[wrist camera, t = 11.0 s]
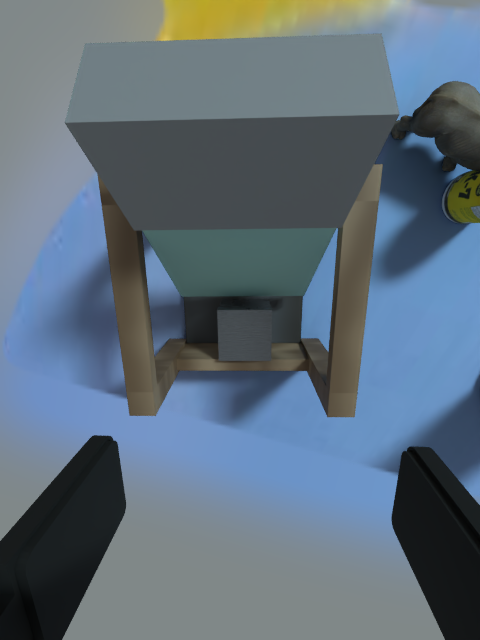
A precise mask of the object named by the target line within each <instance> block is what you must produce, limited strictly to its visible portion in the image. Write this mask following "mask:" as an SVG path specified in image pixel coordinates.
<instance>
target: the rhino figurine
mask: <svg viewBox="0 0 480 640" xmlns="http://www.w3.org/2000/svg"><path fill="white" fill-rule="evenodd" d="M407 131H411V132H413V133H415V134H416V135H418V136H421V137H429V138H433V137H435V144H436V146H437V148H438V150H439V151H440V152H441V153H442V154H443V155H445V157H444V160H443V166H442V169H443V171H453V170H454V169H455V168H456V164H460V165H461V166H463V167H466V168H467V169H471V170H480V94H479V92H478V91H477V90H476V88H475V87H473V86H471V85H470V84H467V83H464V82H458V81H452V82H447V83H445V84H443V85H441V86H440V87H439V88H437V89H436V90H434V91H433V92H432V94H431V95H430V97H429V98H428V99H427V100H426V101H425V102H424V103H423V104H422V105H421V106H420V107H419V108H418V109H416V110H415V111H414V113H413V117H410V116H403V117H401V119H400V120H398V121H396V122H395V124H394V126H393V128H392V130H391V133H392V136H393V138H394V139H397V138H398V139H403V138H404V137H405V135H406V132H407Z"/></svg>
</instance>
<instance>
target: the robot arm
mask: <svg viewBox="0 0 480 640" xmlns="http://www.w3.org/2000/svg"><path fill="white" fill-rule="evenodd" d="M125 509H126V500H125V493H124V486H123V480H122V472H121V465H120V458H119V451H118V444H117V442H116V441H113V438H112V437H111V436H97V435H94V436H92V437H91V438H90V439H89V440H88V441H87V442H86V443H85V445H84V446H83V447H82V448H81V449H80V451H78V453H77V454H76V455H75V456H74V457H73V458H72V459H71V461H70V462H69V463H68V464H67V466H65V467H64V469H63V470H62V471H61V472H60V473H59V475H58V476H57V477H56V478H55V479H54V480H53V481H52V482H51V484H50V485H49V486H48V487H47V488H46V489H45V490H44V492H43V493H42V494H41V495H40V496H39V497H38V499H37V500H36V501H35V502H34V503H33V504H32V505H31V507H30V508H29V509H28V510H27V511H26V512H25V514H24V515H23V516H22V517H21V518H20V519H19V520H18V521H17V523H16V524H15V525H14V526H13V527H12V528H11V530H10V531H9V532H8V533H7V534H6V535H5V536H4V538H3V539H2V540H1V541H0V640H62V638H63V636H64V635H65V632H66V631H67V629H68V627H69V624H70V622H71V621H72V619H73V617H74V615H75V612H76V611H77V608H78V607H79V605H80V602H81V600H82V598H83V596H84V594H85V592H86V590H87V588H88V586H89V584H90V582H91V580H92V578H93V576H94V574H95V572H96V570H97V568H98V566H99V564H100V562H101V560H102V558H103V556H104V554H105V552H106V550H107V548H108V546H109V544H110V542H111V540H112V538H113V536H114V534H115V532H116V530H117V528H118V526H119V524H120V522H121V520H122V518H123V516H124V513H125ZM392 525H393V529H394V531H395V534H396V536H397V538H398V540H399V542H400V544H401V547H402V549H403V551H404V553H405V555H406V557H407V559H408V561H409V564H410V566H411V568H412V570H413V572H414V574H415V576H416V579H417V581H418V583H419V585H420V587H421V589H422V591H423V593H424V595H425V598H426V600H427V602H428V604H429V606H430V608H431V610H432V613H433V615H434V617H435V619H436V621H437V623H438V625H439V628H440V630H441V632H442V634H443V636H444V638H445V640H480V505H479V504H478V503H477V502H476V501H475V499H474V498H473V497H472V496H471V495H470V493H469V492H468V491H467V490H466V489H465V487H464V486H463V485H462V484H461V483H460V482H459V480H458V479H457V478H456V477H455V476H454V474H453V473H452V472H451V471H450V470H449V468H448V467H447V466H446V465H445V464H444V462H443V461H442V460H441V459H440V458H439V457H438V455H437V454H436V453H435V452H434V451H433V450H432V449H431V448H429V447H409V448H408V449H407V451H404V452H403V453H402V456H401V463H400V469H399V475H398V481H397V487H396V494H395V500H394V506H393V512H392Z"/></svg>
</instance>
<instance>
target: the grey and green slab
mask: <svg viewBox="0 0 480 640" xmlns="http://www.w3.org/2000/svg"><path fill="white" fill-rule="evenodd" d="M398 116H399V110H398V106H397V101H396V97H395V92H394V88H393V83H392V78H391V74H390V69H389V65H388V60H387V56H386V51H385V47H384V42H383V38H382V34H355V35H325V36H295V37H265V38H235V39H206V40H176V41H146V42H118V43H88V44H85V46H84V50H83V55H82V58H81V62H80V66H79V69H78V73H77V78H76V81H75V85H74V89H73V93H72V97H71V100H70V105H69V108H68V112H67V117H66V120H65V124H66V125H67V127H68V128H69V130H70V132H71V133H72V135H73V136H74V138H75V139H76V141H77V142H78V144H79V146H80V147H81V149H82V150H83V152H84V153H85V155H86V156H87V158H88V160H89V161H90V163H91V164H92V166H93V167H94V169H95V171H96V172H97V174H98V175H99V177H100V178H101V180H102V181H103V183H104V185H105V186H106V188H107V189H108V191H109V192H110V194H111V195H112V197H113V199H114V200H115V202H116V203H117V205H118V206H119V208H120V209H121V211H122V213H123V214H124V216H125V217H126V219H127V220H128V222H129V223H130V225H131V227H132V228H133V230H134V231H137V230H142V231H143V233H144V234H145V236H146V238H147V239H148V241H149V243H150V244H151V246H152V248H153V250H154V251H155V253H156V255H157V256H158V258H159V260H160V261H161V263H162V265H163V266H164V268H165V270H166V271H167V273H168V275H169V276H170V278H171V280H172V281H173V283H174V285H175V286H176V288H177V290H178V291H179V293H180V295H181V296H182V297H195V296H304V294H305V292H306V290H307V288H308V286H309V284H310V282H311V280H312V278H313V276H314V274H315V272H316V269H317V267H318V265H319V263H320V261H321V259H322V257H323V255H324V253H325V251H326V249H327V247H328V245H329V243H330V240H331V238H332V236H333V234H334V232H335V230H336V228H342V226H343V224H344V222H345V220H346V218H347V216H348V214H349V212H350V210H351V208H352V206H353V204H354V202H355V201H356V199H357V197H358V195H359V193H360V191H361V189H362V187H363V185H364V183H365V181H366V179H367V177H368V175H369V173H370V171H371V169H372V167H373V165H374V163H375V161H376V159H377V157H378V155H379V153H380V151H381V150H382V148H383V146H384V144H385V142H386V140H387V138H388V136H389V134H390V132H391V130H392V128H393V126H394V124H395V122H396V120H397V118H398Z"/></svg>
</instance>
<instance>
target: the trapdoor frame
mask: <svg viewBox="0 0 480 640" xmlns="http://www.w3.org/2000/svg"><path fill="white" fill-rule="evenodd" d="M382 167H383V164H374V165H373V167H372V169H371V171H370V173H369V175H368V177H367V179H366V181H365V183H364V185H363V187H362V189H361V191H360V193H359V195H358V197H357V199H356V201H355V202H354V204H353V206H352V208H351V210H350V212H349V214H348V216H347V218H346V220H345V222H344V224H343V226H342V228H338V237H337V250H336V263H335V276H334V289H333V302H332V315H331V327H330V340H329V353H328V351H327V350H326V349H325V347H324V346H323V344H322V343H321V342H320V340H319V339H318V338H314V339H301V321H302V300H303V296H195V297H184V309H185V324H186V339H169V340H168V341H167V342H166V344H165V345H164V346H163V347H162V349H161V350H160V351H159V352H158V354H157V355H156V356H155V357H154V348H153V338H152V328H151V318H150V308H149V298H148V288H147V278H146V268H145V257H144V247H143V237H142V230H137V231H134V230H133V228H132V227H131V225H130V223H129V222H128V220H127V219H126V217H125V216H124V214H123V213H122V211H121V209H120V208H119V206H118V205H117V203H116V202H115V200H114V199H113V197H112V195H111V194H110V192H109V191H108V189H107V188H106V186H105V185H104V183H103V181H102V180H101V178H100V177H99V175H98V181H99V188H100V196H101V203H102V211H103V218H104V226H105V234H106V241H107V249H108V256H109V264H110V271H111V279H112V286H113V294H114V301H115V309H116V316H117V324H118V332H119V339H120V347H121V354H122V362H123V369H124V377H125V384H126V392H127V399H128V407H129V414H130V416H156V414H157V412H158V410H159V408H160V406H161V405H162V403H163V401H164V399H165V397H166V395H167V393H168V391H169V389H170V388H171V386H172V384H173V382H174V380H175V378H176V376H177V374H178V372H179V371H307V372H308V375H309V377H310V379H311V381H312V383H313V386H314V388H315V390H316V392H317V395H318V397H319V399H320V401H321V403H322V406H323V408H324V410H325V412H326V415H327V417H355V409H356V400H357V391H358V382H359V373H360V364H361V355H362V346H363V337H364V328H365V319H366V310H367V301H368V292H369V283H370V275H371V266H372V257H373V248H374V239H375V230H376V221H377V212H378V203H379V194H380V185H381V176H382ZM222 299H269V302H270V305H271V308H272V345H271V361H219V349H218V319H217V309H218V307H219V305H220V303H221V301H222Z"/></svg>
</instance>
